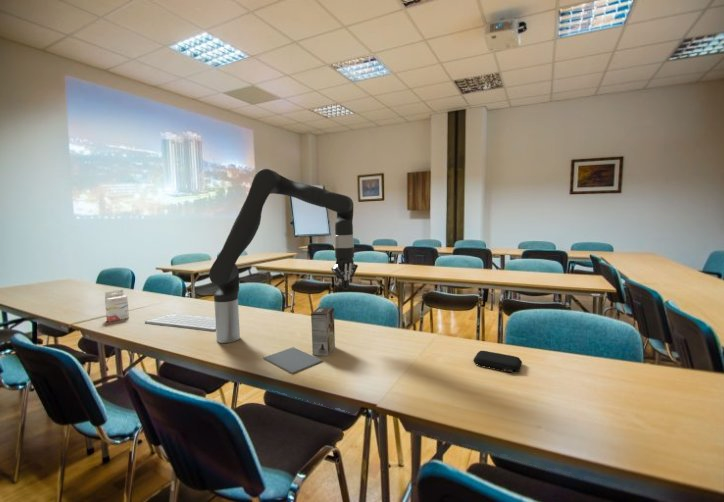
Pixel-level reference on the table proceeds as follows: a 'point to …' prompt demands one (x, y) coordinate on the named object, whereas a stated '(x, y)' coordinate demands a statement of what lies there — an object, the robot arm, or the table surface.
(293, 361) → the dark rubber mat
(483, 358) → the carrying case or bag
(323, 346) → the coffee box
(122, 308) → the ink cartridge box
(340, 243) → the robot arm
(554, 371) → the table surface
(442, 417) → the table surface
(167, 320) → the computer keyboard
